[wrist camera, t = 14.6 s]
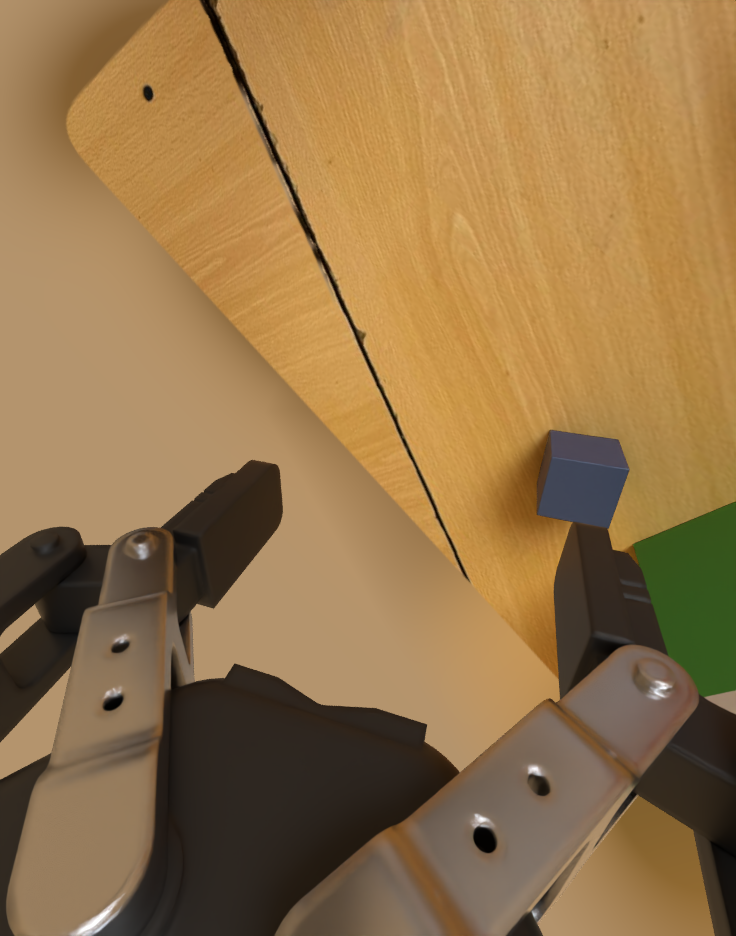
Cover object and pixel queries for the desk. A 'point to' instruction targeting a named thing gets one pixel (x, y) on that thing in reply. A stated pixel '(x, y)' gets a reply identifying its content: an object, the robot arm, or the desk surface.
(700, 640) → the hardback book
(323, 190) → the desk surface
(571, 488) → the cube
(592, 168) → the desk surface
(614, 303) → the desk surface
